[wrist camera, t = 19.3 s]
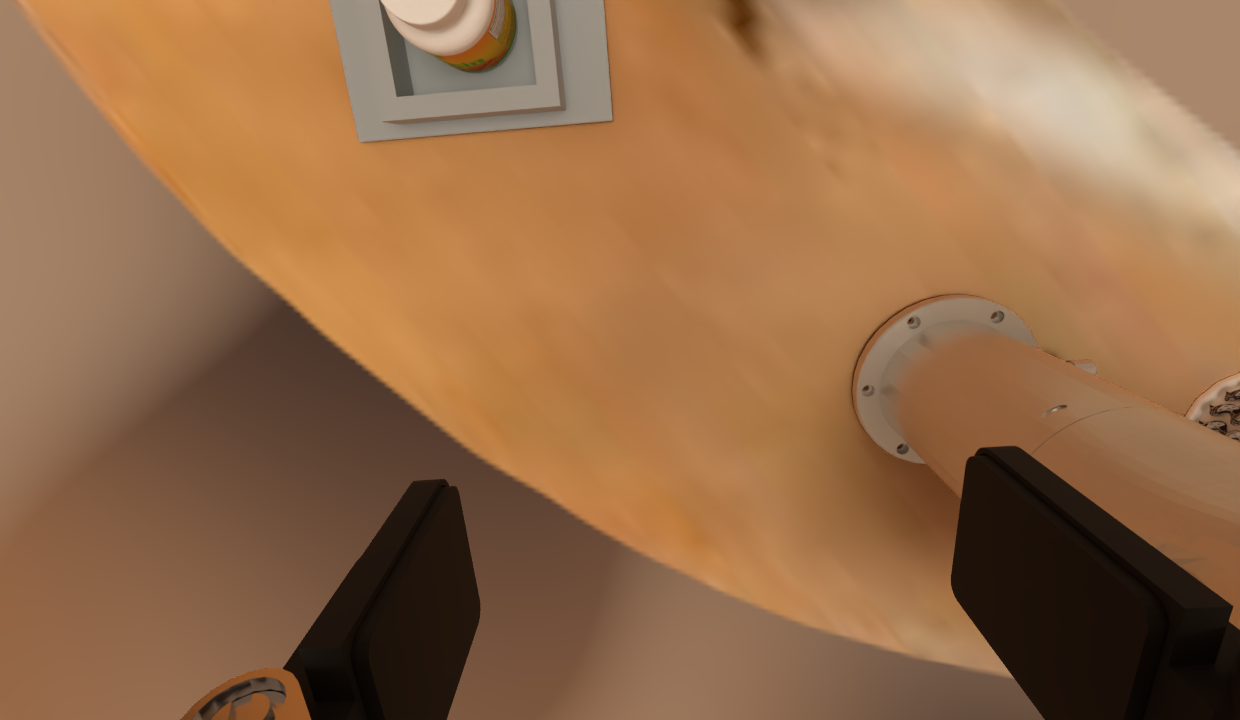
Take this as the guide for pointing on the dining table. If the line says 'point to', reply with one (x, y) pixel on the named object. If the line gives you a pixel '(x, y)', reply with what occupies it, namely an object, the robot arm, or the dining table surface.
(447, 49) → the supplement bottle
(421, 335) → the dining table surface
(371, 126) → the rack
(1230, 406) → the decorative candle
